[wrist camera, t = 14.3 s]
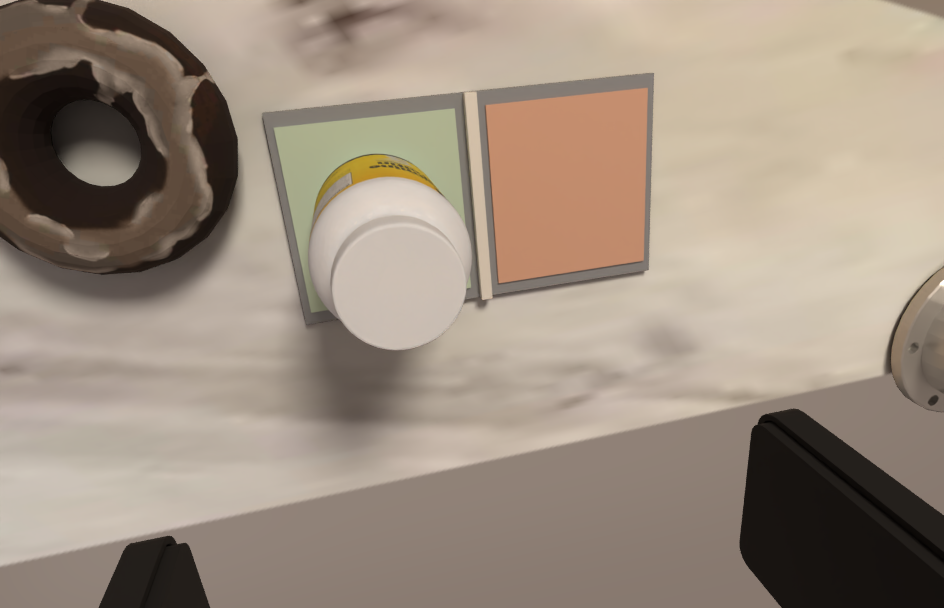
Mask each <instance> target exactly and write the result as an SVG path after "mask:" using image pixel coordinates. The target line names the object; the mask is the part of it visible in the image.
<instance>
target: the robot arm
mask: <svg viewBox="0 0 944 608" xmlns="http://www.w3.org/2000/svg"><path fill="white" fill-rule="evenodd" d="M891 367H892V374H893V378H894V380H895V382H896V385H897V387H898V388H899V390H900V391H901V392H902V393H903V395H904V396H905V397H907V398H908V399H910V400H911V401H912V402H914V403H916V404H918V405H919V406H921V407H923V408H925V409H927V410H931V411H937V412H944V267H943V268H942V269H941V270H939V271H938V272H937V273H935V274H934V275H933V276H932V277H931V278H930V279H929V280H928V281H927V282H926V283H925V284H924V285H923V286H922V288H921V289H920V290H919V292H918V293H917V294H916V295H915V297H914V298H913V299H912V301H911V302H910V304H909V306H908V307H907V309H906V311H905V312H904V314H903V316H902V318H901V320H900V323H899V325H898V328H897V330H896V333H895V337H894V341H893V345H892V353H891ZM740 551H741V554H742V557H743V559H744V561H745V563H746V565H747V566H748V567H749V569H750V570H751V571H752V572H753V573H754V574H755V576H756V577H757V578H758V580H759V581H760V582H761V583H762V584H763V586H764V587H765V588H766V589H767V590H768V592H769V593H770V594H771V595H772V596H773V598H774V599H775V600H776V601H777V602H778V604H779V605H780V606H781V607H782V608H944V515H942V514H941V513H940V512H938V511H937V510H935V509H934V508H933V507H931V506H930V505H929V504H927V503H926V502H925V501H923V500H922V499H920V498H919V497H918V496H916V495H915V494H914V493H912V492H911V491H910V490H908V489H907V488H906V487H904V486H903V485H901V484H900V483H899V482H898V481H896V480H895V479H894V478H892V477H891V476H889V475H888V474H887V473H885V472H884V471H883V470H881V469H880V468H879V467H877V466H876V465H875V464H873V463H872V462H870V461H869V460H868V459H866V458H865V457H864V456H862V455H861V454H859V453H858V452H857V451H856V450H854V449H853V448H851V447H850V446H849V445H847V444H846V443H845V442H843V441H842V440H841V439H839V438H838V437H837V436H835V435H834V434H832V433H831V432H830V431H828V430H827V429H826V428H824V427H823V426H821V425H820V424H819V423H818V422H816V421H814V420H813V419H812V418H811V417H809V416H808V415H807V414H805V413H804V412H802V411H800V410H799V409H789V410H784V411H780V412H774V413H769V414H765V415H763V416H761V418H760V419H759V422H758V425H755V426H754V427H753V429H752V432H751V441H750V450H749V460H748V469H747V478H746V488H745V496H744V506H743V515H742V525H741V534H740ZM99 608H210V606H209V603H208V600H207V597H206V594H205V591H204V588H203V585H202V583H201V579H200V577H199V573H198V571H197V568H196V565H195V562H194V559H193V556H192V553H191V550H190V548H189V546H188V544H187V543H181V544H177V543H176V541H175V540H174V538H173V537H172V536H166V537H160V538H155V539H151V540H146V541H141V542H136V543H131V544H129V545H128V546H126V548H125V550H124V551H123V553H122V556H121V558H120V560H119V563H118V565H117V567H116V570H115V572H114V574H113V576H112V578H111V581H110V583H109V585H108V587H107V590H106V592H105V594H104V597H103V599H102V601H101V603H100V606H99Z"/></svg>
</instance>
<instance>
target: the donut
mask: <svg viewBox="0 0 944 608" xmlns="http://www.w3.org/2000/svg"><path fill="white" fill-rule="evenodd" d="M83 99H90V100H94V101H99V102H103V103H105V104H107V105H109V106H111V107H113V108H115V109H117V110H118V111H119V112H120V113H122V114H123V115H124V116H125V117H126V118H127V119H128V120H129V121H130V123H131V124H132V125H133V127H134V128H135V130H136V132H137V134H138V137H139V140H140V143H141V155H142V156H141V160H140V164H139V167H138V169H137V170H136V172H135V173H134V175H133V176H132V177H131V178H130V179H129V180H127V181H126V182H125V183H122V184H119V185H116V186H97V185H92V184H89V183H87V182H85V181H82V180H80V179H78V178H77V177H76V176H75V175H73V174H72V173H71V172H70V171H68V170H67V169H66V168H65V166H64V165H63V164H62V163H61V161H60V160H59V159H58V157H57V155H56V153H55V150H54V148H53V145H52V140H51V131H50V130H51V126H52V121H53V119H54V117H55V116H56V114H57V112H58V111H59V110H60V109H61V108H63V107H64V106H65V105H67V104H68V103H70V102H73V101H76V100H83ZM237 177H238V139H237V135H236V132H235V128H234V125H233V122H232V118H231V115H230V112H229V108H228V105H227V102H226V100H225V98H224V96H223V95H222V93H221V92H220V90H219V88H218V87H217V85H216V84H215V82H214V80H213V79H212V77H211V76H210V74H209V72H208V71H207V69H206V67H205V66H204V65H203V63H201V62H200V61H199V60H198V59H197V58H196V57H195V56H194V55H193V54H192V53H191V52H190V51H189V50H188V49H187V48H186V47H185V46H184V45H183V44H182V43H181V42H180V41H179V40H178V39H177V38H176V37H175V36H174V35H173V34H171V33H170V32H169V31H167V30H165V29H164V28H162V27H160V26H158V25H157V24H155V23H153V22H152V21H150V20H148V19H146V18H145V17H143V16H141V15H140V14H138V13H136V12H134V11H133V10H131V9H129V8H126V7H122V6H119V5H115V4H112V3H108V2H104V1H101V0H18V1H15V2H12V3H9V4H5V5H2V6H0V237H1V238H3V239H4V240H6V241H7V242H8V243H10V244H11V245H13V246H14V247H15V248H17V249H18V250H20V251H22V252H25V253H27V254H30V255H32V256H34V257H37V258H39V259H42V260H44V261H46V262H49V263H51V264H54V265H56V266H58V267H61V268H66V269H72V270H78V271H83V272H89V273H95V274H101V275H104V274H118V273H131V272H142V271H144V270H147V269H150V268H153V267H156V266H159V265H161V264H164V263H167V262H170V261H173V260H175V259H177V258H179V257H181V256H182V255H184V254H185V253H186V252H188V251H189V250H190V249H192V248H193V247H195V246H196V245H197V244H199V243H200V242H201V241H203V240H204V239H205V238H207V237H208V236H209V234H210V233H211V231H212V230H213V229H214V227H215V226H216V224H217V223H218V222H219V220H220V219H221V217H222V216H223V215H224V213H225V212H226V211H227V209H228V206H229V202H230V199H231V196H232V193H233V190H234V186H235V183H236V180H237Z"/></svg>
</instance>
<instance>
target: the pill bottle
mask: <svg viewBox="0 0 944 608" xmlns="http://www.w3.org/2000/svg"><path fill="white" fill-rule="evenodd" d="M308 265H309V272H310V276H311V280H312V283H313V286H314V288H315V290H316V292H317V294H318V296H319V298H320V299H321V301H322V302H323V304H324V305H325V306H326V307H327V309H328V310H329V311H330V312H331V313H332V314H333V315H334V316H335V317H337V318H338V319H339V320H340V321H341V322H342V323H343V325H344V326H345V327H346V328H347V329H348V330H349V331H350V332H351V333H352V334H353V335H354V336H356V337H357V338H358V339H360V340H361V341H363V342H365V343H367V344H369V345H371V346H374V347H377V348H381V349H386V350H407V349H412V348H416V347H419V346H422V345H425V344H427V343H429V342H431V341H433V340H435V339H436V338H438V337H439V336H441V335H442V334H443V333H444V332H445V331H446V330H447V329H448V328H449V327H450V326H451V325H452V324H453V323H454V321H455V320H456V318H457V317H458V315H459V313H460V311H461V309H462V307H463V303H464V300H465V296H466V289H467V283H468V279H469V276H470V271H471V265H472V249H471V243H470V238H469V234H468V232H467V229H466V226H465V224H464V222H463V220H462V218H461V217H460V215H459V214H458V212H457V211H456V209H455V208H454V207H453V205H452V204H451V203H450V202H449V201H448V200H447V199H446V198H445V197H444V195H443V194H442V193H441V192H440V191H439V190H438V188H437V187H436V186H435V185H434V184H433V182H432V181H431V180H430V179H429V178H428V176H427V175H426V174H425V173H424V172H423V171H421V170H420V169H419V168H418V167H417V166H415V165H414V164H412V163H410V162H409V161H407V160H405V159H402V158H400V157H397V156H393V155H389V154H366V155H362V156H358V157H355V158H353V159H351V160H349V161H347V162H345V163H343V164H342V165H340V166H339V167H338V168H336V169H335V170H334V171H333V172H332V173H331V174H330V175H329V176H328V177H327V179H326V180H325V182H324V183H323V185H322V187H321V189H320V190H319V193H318V196H317V199H316V202H315V207H314V214H313V221H312V227H311V233H310V239H309V247H308Z"/></svg>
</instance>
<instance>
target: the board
mask: <svg viewBox="0 0 944 608" xmlns="http://www.w3.org/2000/svg"><path fill="white" fill-rule="evenodd" d="M653 87H654V73H645V74H635V75H626V76H616V77H606V78H597V79H587V80H577V81H567V82H558V83H548V84H538V85H528V86H519V87H509V88H499V89H489V90H480V91H470V92H460V93H451V94H441V95H431V96H421V97H412V98H402V99H392V100H382V101H373V102H363V103H353V104H344V105H334V106H324V107H314V108H305V109H295V110H285V111H275V112H266V113H262V115H263V120H264V125H265V130H266V135H267V139H268V144H269V149H270V154H271V159H272V163H273V168H274V173H275V178H276V182H277V187H278V192H279V197H280V202H281V206H282V211H283V216H284V221H285V226H286V230H287V235H288V240H289V245H290V250H291V254H292V259H293V264H294V269H295V274H296V278H297V283H298V288H299V293H300V298H301V302H302V307H303V312H304V317H305V322H306V325H308V324H314V323H320V322H326V321H333V320H339V319H338V318H337V317H335V316H334V315H333V314H332V313H331V312H330V311H329V310H328V309H327V307H326V306H325V305H324V304H323V302H322V301H321V299H320V298H319V296H318V294H317V292H316V290H315V288H314V286H313V283H312V280H311V276H310V272H309V265H308V247H309V239H310V233H311V227H312V221H313V214H314V207H315V202H316V199H317V196H318V193H319V190H320V189H321V187H322V185H323V183H324V182H325V180H326V179H327V177H328V176H329V175H330V174H331V173H332V172H333V171H334V170H335V169H336V168H338V167H339V166H340V165H342V164H343V163H345V162H347V161H349V160H351V159H353V158H355V157H358V156H362V155H366V154H389V155H393V156H397V157H400V158H402V159H405V160H407V161H409V162H410V163H412V164H414V165H415V166H417V167H418V168H419V169H420V170H421V171H423V172H424V173H425V174H426V175H427V176H428V178H429V179H430V180H431V181H432V182H433V184H434V185H435V186H436V187H437V188H438V190H439V191H440V192H441V193H442V194H443V195H444V197H445V198H446V199H447V200H448V201H449V202H450V203H451V204H452V205H453V207H454V208H455V209H456V211H457V212H458V214H459V215H460V217H461V218H462V220H463V222H464V224H465V226H466V229H467V232H468V234H469V238H470V243H471V249H472V265H471V271H470V276H469V279H468V283H467V289H466V296H465V299H471V298H477V297H481V299H482V300H486V299H492V298H493V297H492V295H496V294H502V293H508V292H514V291H521V290H527V289H533V288H540V287H546V286H552V285H558V284H565V283H571V282H577V281H583V280H590V279H596V278H602V277H608V276H615V275H621V274H627V273H634V272H640V271H646V270H649V234H650V198H651V161H652V124H653Z"/></svg>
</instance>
